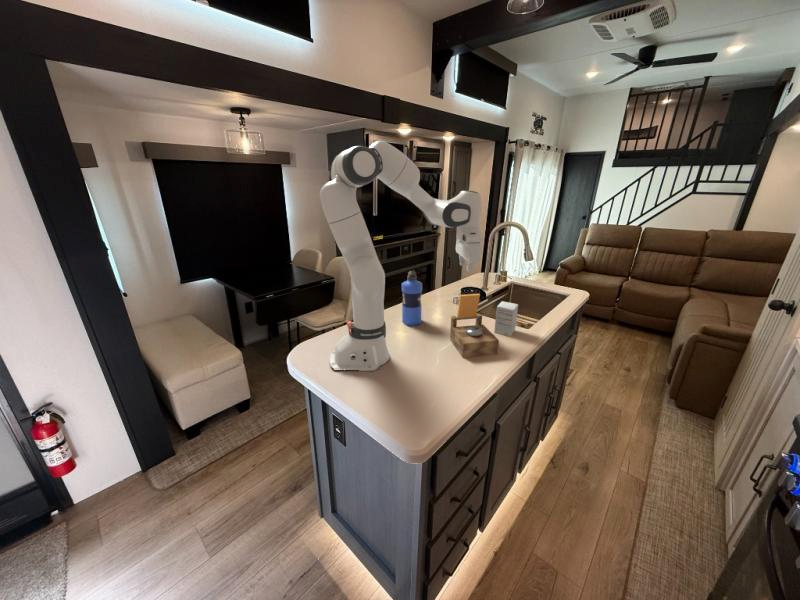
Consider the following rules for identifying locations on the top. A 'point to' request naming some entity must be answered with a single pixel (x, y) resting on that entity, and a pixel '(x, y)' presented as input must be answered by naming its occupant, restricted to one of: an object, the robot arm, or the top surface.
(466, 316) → the orange rectangular panel
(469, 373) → the top surface
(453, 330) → the block
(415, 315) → the water bottle
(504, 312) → the supplement box
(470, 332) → the grey light bulb
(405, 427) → the top surface
